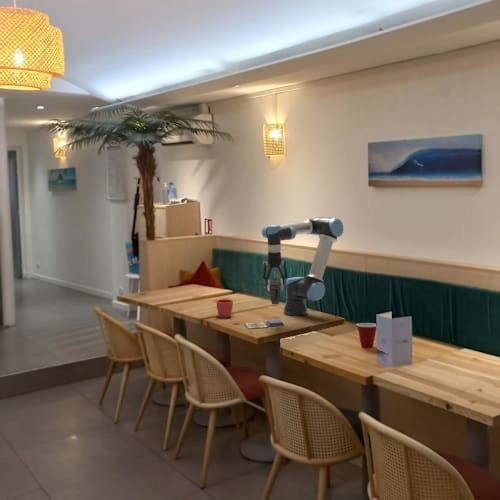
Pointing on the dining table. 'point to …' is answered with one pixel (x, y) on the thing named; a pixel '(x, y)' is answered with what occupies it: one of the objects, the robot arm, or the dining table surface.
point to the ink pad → (274, 323)
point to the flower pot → (224, 307)
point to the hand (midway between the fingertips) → (275, 290)
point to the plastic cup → (366, 334)
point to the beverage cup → (275, 289)
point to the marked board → (256, 325)
